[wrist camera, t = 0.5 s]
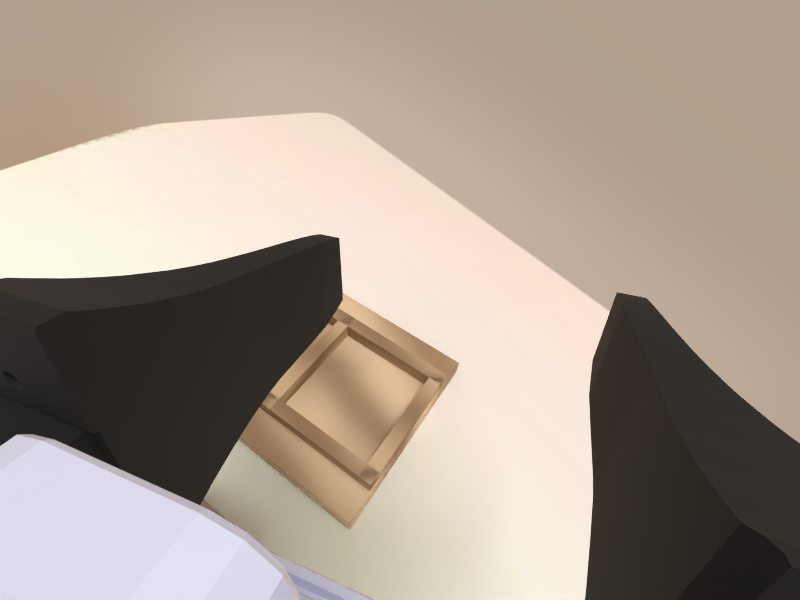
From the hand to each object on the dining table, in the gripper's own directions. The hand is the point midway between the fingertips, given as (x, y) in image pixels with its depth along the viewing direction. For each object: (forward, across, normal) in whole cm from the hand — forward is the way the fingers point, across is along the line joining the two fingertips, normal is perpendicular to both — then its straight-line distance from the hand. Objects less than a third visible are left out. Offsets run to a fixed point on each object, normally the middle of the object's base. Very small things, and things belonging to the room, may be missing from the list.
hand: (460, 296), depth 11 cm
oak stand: (+9, +11, +14) cm, 20 cm away
